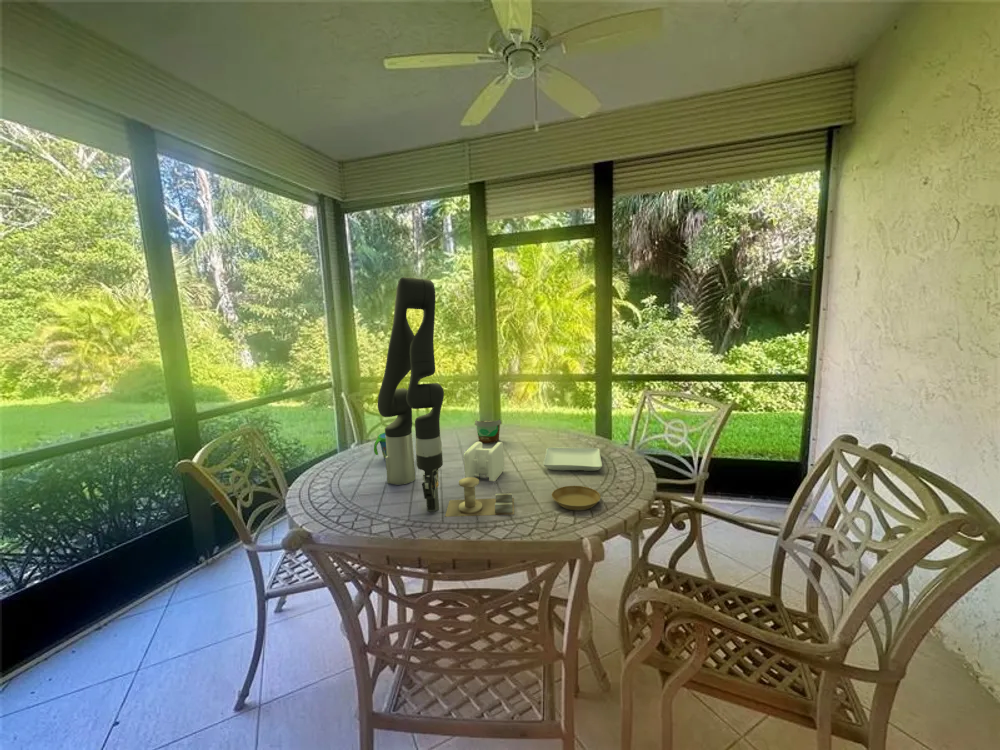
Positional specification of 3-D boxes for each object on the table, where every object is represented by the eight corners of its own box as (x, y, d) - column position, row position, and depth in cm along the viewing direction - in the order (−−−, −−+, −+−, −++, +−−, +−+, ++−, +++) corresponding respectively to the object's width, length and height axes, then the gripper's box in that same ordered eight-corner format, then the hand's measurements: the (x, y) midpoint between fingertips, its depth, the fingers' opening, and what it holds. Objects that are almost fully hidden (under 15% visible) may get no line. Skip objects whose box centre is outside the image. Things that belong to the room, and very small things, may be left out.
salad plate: (599, 455, 175) (599, 446, 175) (602, 475, 154) (602, 465, 154) (546, 454, 179) (546, 446, 178) (542, 473, 158) (542, 464, 158)
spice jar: (424, 515, 128) (422, 486, 127) (427, 508, 132) (425, 480, 131) (438, 514, 128) (437, 485, 127) (441, 508, 132) (439, 479, 131)
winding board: (445, 520, 125) (444, 508, 125) (450, 503, 136) (449, 492, 135) (514, 518, 125) (514, 506, 124) (513, 501, 136) (513, 490, 135)
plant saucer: (567, 489, 143) (567, 481, 143) (609, 500, 134) (609, 492, 134) (542, 506, 132) (542, 497, 132) (586, 519, 123) (586, 510, 122)
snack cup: (380, 465, 173) (378, 441, 172) (370, 459, 181) (367, 435, 180) (415, 456, 183) (413, 432, 181) (404, 450, 191) (402, 428, 190)
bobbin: (457, 513, 126) (455, 486, 125) (460, 503, 133) (458, 477, 132) (481, 513, 126) (480, 485, 125) (482, 502, 133) (481, 476, 132)
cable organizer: (493, 486, 148) (491, 453, 146) (464, 484, 151) (462, 452, 149) (505, 470, 162) (503, 440, 160) (478, 468, 165) (476, 439, 163)
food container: (473, 444, 196) (471, 422, 195) (475, 440, 202) (474, 419, 201) (499, 444, 194) (498, 422, 193) (502, 440, 200) (501, 419, 199)
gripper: (421, 443, 134) (424, 496, 137) (410, 459, 120) (415, 518, 123) (445, 443, 134) (448, 495, 137) (437, 458, 120) (441, 517, 123)
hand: (432, 506), depth 130 cm, fingers closed on spice jar, 3 cm apart
